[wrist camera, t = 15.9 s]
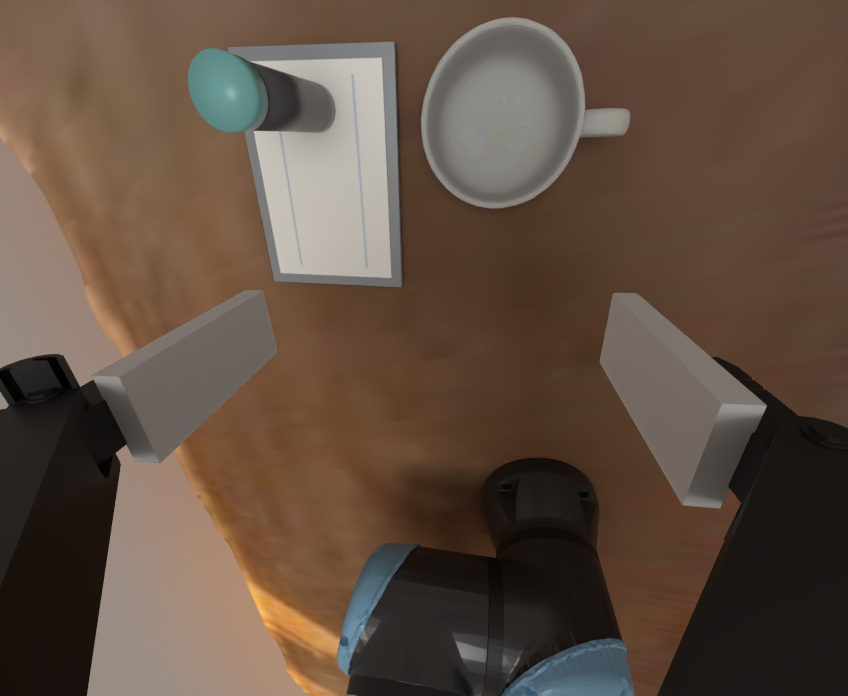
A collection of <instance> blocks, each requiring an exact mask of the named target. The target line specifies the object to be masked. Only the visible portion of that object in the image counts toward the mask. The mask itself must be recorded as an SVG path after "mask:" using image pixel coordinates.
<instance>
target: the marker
mask: <svg viewBox="0 0 848 696" xmlns="http://www.w3.org/2000/svg"><path fill="white" fill-rule="evenodd" d="M188 86H189V92H190V95H191V98H192V101H193V103H194V105H195V107H196V109H197V111H198V112H199V114H200V115H201V116H202V117H203V118H204V120H205V121H206V122H208V123H209V124H210V125H211V126H213V127H214V128H216V129H218V130H221V131H225V132H251V131H279V132H314V133H319V132H324V131H326V130H327V129H329V128H330V126H331V125H332V124H333V121H334V119H335V112H336V110H335V103H334V100H333V97H332V95H331V94H330V92H329V91H328V90H327V89H326V88H325V87H324V86H322V85H321V84H318V83H315V82H312V81H309V80H306V79H303V78H300V77H297V76H294V75H290V74H287V73H284V72H281V71H278V70H275V69H272V68H269V67H265V66H262V65H259V64H256V63H253V62H250V61H247V60H246V59H244V58H242V57H240V56H238V55H235V54H232V53H229V52H226V51H223V50H219V49H212V48H211V49H206V50H203V51H201V52H199V53H198V54H197V55H196V56H195V57H194V59H193V60H192V62H191V65H190V67H189V72H188Z"/></svg>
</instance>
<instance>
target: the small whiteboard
mask: <svg viewBox="0 0 848 696" xmlns="http://www.w3.org/2000/svg"><path fill="white" fill-rule="evenodd" d="M228 52H229V53H232V54H235V55H238V56H240V57H242V58H244V59H246V60H247V61H250V62H253V63H256V64H259V65H262V66H265V67H269V68H272V69H275V70H278V71H281V72H284V73H287V74H290V75H294V76H297V77H300V78H303V79H306V80H309V81H312V82H315V83H318V84H321V85H322V86H324V87H325V88H326V89H327V90H328V91H329V92H330V94H331V95H332V97H333V100H334V103H335V110H336V112H335V119H334V121H333V124H332V125H331V126H330V128H329V129H327V130H326V131H324V132H319V133H314V132H279V131H251V132H245V136H246V141H247V146H248V151H249V156H250V161H251V166H252V171H253V176H254V181H255V186H256V191H257V196H258V201H259V206H260V211H261V216H262V221H263V226H264V231H265V236H266V241H267V246H268V251H269V256H270V261H271V266H272V271H273V276H274V281H282V282H303V283H324V284H345V285H366V286H387V287H402V286H403V263H402V227H401V192H400V156H399V120H398V84H397V48H396V43H395V42H371V43H342V44H312V45H282V46H252V47H228Z"/></svg>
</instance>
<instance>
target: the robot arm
mask: <svg viewBox="0 0 848 696" xmlns="http://www.w3.org/2000/svg"><path fill="white" fill-rule="evenodd" d="M277 352H278V351H277V347H276V343H275V338H274V334H273V330H272V326H271V322H270V318H269V314H268V309H267V305H266V301H265V297H264V293H263V290H245V291H243V292H241V293H239V294H238V295H236V296H234V297H232V298H230V299H229V300H227V301H225V302H223V303H221V304H220V305H218V306H216V307H214V308H212V309H211V310H209V311H207V312H205V313H203V314H202V315H200V316H198V317H196V318H194V319H192V320H191V321H189V322H187V323H185V324H183V325H182V326H180V327H178V328H176V329H174V330H173V331H171V332H169V333H167V334H165V335H164V336H162V337H160V338H158V339H156V340H155V341H153V342H151V343H149V344H147V345H146V346H144V347H142V348H140V349H138V350H137V351H135V352H133V353H131V354H129V355H128V356H126V357H124V358H122V359H120V360H119V361H117V362H115V363H113V364H111V365H110V366H108V367H106V368H104V369H102V370H101V371H99V372H97V373H95V374H94V375H92V378H93V380H92V381H90V382H88V383H87V384H85V385H83V386H81V387H80V386H79V384H78V382H77V380H76V378H75V376H74V375H73V373H72V371H71V369H70V367H69V366H68V364H67V362H66V360H65V358H64V356H62V355H59V354H48V355H42V356H36V357H32V358H27V359H24V360H20V361H17V362H15V363H12V364H9V365H7V366H4V367H2V368H0V392H1V393H2V395H3V396H4V398H5V400H6V401H7V403H8V404H9V406H8V407H7V409H1V410H0V696H87V690H88V683H89V677H90V669H91V663H92V656H93V649H94V643H95V636H96V629H97V622H98V616H99V609H100V601H101V595H102V588H103V581H104V574H105V568H106V561H107V554H108V547H109V541H110V534H111V526H112V521H113V514H114V507H115V500H116V493H117V486H118V480H119V473H120V466H121V464H120V461H119V459H118V457H117V455H116V452H117V451H119V450H120V449H121V448H122V447H124V446H125V445H126V444H127V446H128V448H129V450H130V452H131V454H132V456H133V458H134V460H135V462H148V463H161V462H162V461H163V460H164V459H165V458H166V457H167V456H168V455H169V454H170V453H172V452H173V451H174V450H175V449H176V448H177V447H178V446H179V445H180V444H181V443H182V442H183V441H184V440H185V439H186V438H187V437H188V436H190V435H191V434H192V433H193V432H194V431H195V430H196V429H197V428H198V427H199V426H200V425H201V424H202V423H203V422H204V421H205V420H206V419H207V418H209V417H210V416H211V415H212V414H213V413H214V412H215V411H216V410H217V409H218V408H219V407H220V406H221V405H222V404H223V403H224V402H225V401H227V400H228V399H229V398H230V397H231V396H232V395H233V394H234V393H235V392H236V391H237V390H238V389H239V388H240V387H241V386H242V385H243V384H245V383H246V382H247V381H248V380H249V379H250V378H251V377H252V376H253V375H254V374H255V373H256V372H257V371H258V370H259V369H260V368H261V367H262V366H264V365H265V364H266V363H267V362H268V361H269V360H270V359H271V358H272V357H273V356H274V355H275V354H276V353H277ZM600 364H601V366H602V368H603V369H604V371H605V373H606V374H607V376H608V378H609V380H610V381H611V383H612V385H613V387H614V388H615V390H616V392H617V393H618V395H619V397H620V399H621V400H622V402H623V404H624V406H625V407H626V409H627V411H628V412H629V414H630V416H631V418H632V419H633V421H634V423H635V424H636V426H637V428H638V430H639V431H640V433H641V435H642V437H643V438H644V440H645V442H646V443H647V445H648V447H649V449H650V450H651V452H652V454H653V456H654V457H655V459H656V461H657V462H658V464H659V466H660V468H661V469H662V471H663V473H664V474H665V476H666V478H667V480H668V481H669V483H670V485H671V487H672V488H673V490H674V492H675V493H676V495H677V497H678V499H679V500H680V502H681V504H682V505H684V506H696V507H709V508H721V505H722V503H723V501H724V499H725V497H726V494H727V492H728V490H729V488H730V489H731V490H732V492H733V493H734V494H735V496H736V497H737V498H738V500H739V501H740V502H741V505H740V507H739V509H738V511H737V513H736V515H735V517H734V519H733V521H732V523H731V526H730V528H729V530H728V532H727V534H726V536H725V538H724V539H725V541H724V543H723V545H722V548H721V550H720V552H719V554H718V557H717V559H716V561H715V564H714V566H713V568H712V571H711V573H710V575H709V577H708V580H707V582H706V584H705V587H704V589H703V591H702V594H701V596H700V598H699V601H698V603H697V605H696V607H695V610H694V612H693V614H692V617H691V619H690V621H689V624H688V626H687V628H686V630H685V633H684V635H683V637H682V640H681V642H680V644H679V647H678V649H677V651H676V653H675V656H674V658H673V660H672V663H671V665H670V667H669V670H668V672H667V674H666V677H665V679H664V681H663V683H662V686H661V688H660V690H659V693H658V695H657V696H848V428H846V427H843V426H841V425H838V424H836V423H833V422H829V421H825V420H821V419H817V418H813V417H803V416H798V415H797V414H795V413H794V412H793V411H792V410H790V409H789V408H788V407H787V406H785V405H784V404H783V403H782V402H781V401H779V400H778V399H777V398H776V397H774V396H773V395H772V394H771V393H769V392H768V391H767V390H763V387H762V386H761V385H760V384H758V383H757V382H756V381H755V380H752V378H751V377H750V376H748V375H747V374H746V373H745V372H744V371H742V370H741V369H740V368H739V367H737V366H735V365H733V364H731V363H729V362H727V361H724V360H722V359H720V358H718V357H710V356H709V355H708V354H707V353H706V352H704V351H703V350H702V349H701V348H700V347H699V346H697V345H696V344H695V343H694V342H693V341H692V340H690V339H689V338H688V337H687V336H686V335H685V334H684V333H682V332H681V331H680V330H679V329H678V328H677V327H675V326H674V325H673V324H672V323H671V322H670V321H668V320H667V319H666V318H665V317H664V316H663V315H662V314H660V313H659V312H658V311H657V310H656V309H655V308H653V307H652V306H651V305H650V304H649V303H648V302H646V301H645V300H644V299H643V298H642V297H641V296H640V295H638V294H637V293H613V296H612V301H611V306H610V311H609V316H608V321H607V326H606V331H605V337H604V342H603V347H602V352H601V357H600ZM481 507H482V514H483V518H484V521H485V523H486V526H487V529H488V531H489V534H490V537H491V540H492V542H493V545H494V548H495V550H496V558H492V557H486V556H479V555H473V554H466V553H460V552H453V551H447V550H440V549H433V548H427V547H421V546H420V545H419V544H413V545H404V544H392V543H387V544H384V545H381V546H379V547H378V548H377V549H376V550H375V551H374V552H373V553H372V554H371V556H370V557H369V559H368V560H367V562H366V564H365V566H364V568H363V570H362V572H361V574H360V576H359V578H358V581H357V583H356V586H355V588H354V591H353V594H352V597H351V600H350V603H349V606H348V609H347V612H346V616H345V619H344V623H343V627H342V633H343V634H342V636H341V639H340V643H339V647H338V654H337V662H338V666H339V668H340V670H342V671H343V672H344V674H345V675H351V676H350V680H349V685H348V690H347V695H346V696H634V689H633V684H632V680H631V675H630V671H629V667H628V662H627V658H626V654H627V649H626V646H625V643H624V642H623V641H622V637H621V634H620V630H619V627H618V624H617V620H616V617H615V613H614V610H613V606H612V603H611V599H610V596H609V592H608V589H607V585H606V582H605V579H604V575H603V572H602V568H601V565H600V561H599V558H598V554H597V550H596V546H597V533H598V521H599V505H598V501H597V498H596V495H595V492H594V488H593V486H592V484H591V483H590V481H589V480H588V479H587V477H586V476H585V475H583V474H582V473H581V472H580V471H578V470H577V469H575V468H573V467H571V466H569V465H567V464H564V463H561V462H558V461H553V460H547V459H527V460H521V461H516V462H513V463H510V464H507V465H505V466H503V467H501V468H499V469H498V470H496V471H495V472H494V473H493V474H492V475H491V476H490V477H489V478H488V479H487V480H486V482H485V484H484V486H483V489H482V496H481Z"/></svg>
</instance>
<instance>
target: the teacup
mask: <svg viewBox="0 0 848 696" xmlns="http://www.w3.org/2000/svg"><path fill="white" fill-rule="evenodd" d="M629 123H630V112H629V110H627V109H623V108H602V109H589V110H585V92H584V84H583V78H582V74H581V71H580V69H579V66H578V63H577V60H576V58H575V56H574V55H573V53H572V51H571V50H570V48H569V47H568V45H567V44H566V43H565V42H564V41H563V39H562V38H561V37H560V36H559V35H557V34H556V33H555V32H554V31H552V30H551V29H549V28H548V27H546V26H544V25H542V24H539V23H537V22H534V21H532V20H529V19H523V18H515V17H508V18H500V19H496V20H492V21H489V22H486V23H484V24H481V25H479V26H477V27H475V28H474V29H472V30H470V31H469V32H467V33H466V34H464V35H463V36H462V37H461V38H459V39H458V40H457V41H456V42H455V43H454V44H453V45H452V46H451V47H450V48H449V49H448V50H447V52H446V53H445V54H444V56H443V57H442V58H441V60H440V61H439V63H438V65H437V66H436V68H435V70H434V72H433V74H432V77H431V79H430V81H429V84H428V87H427V91H426V94H425V97H424V102H423V107H422V115H421V133H422V141H423V147H424V151H425V154H426V157H427V161H428V162H429V164H430V167H431V168H432V170H433V172H434V173H435V175H436V177H437V178H438V179H439V181H440V182H441V183H442V184H443V185H444V186H445V188H446V189H447V190H448V191H450V192H451V193H452V194H453V195H455V196H456V197H457V198H459V199H461V200H462V201H464V202H467V203H469V204H472V205H475V206H477V207H483V208H492V209H497V208H505V207H512V206H515V205H518V204H521V203H524V202H527V201H529V200H531V199H533V198H534V197H536V196H537V195H538V194H540V193H541V192H543V191H544V190H545V189H547V188H548V187H549V186H550V185H551V184H552V183H553V182H554V181H555V180H556V179H557V178H558V177H559V175H560V174H561V173H562V172H563V171H564V169H565V168H566V166H567V164H568V163H569V161H570V159H571V157H572V155H573V153H574V151H575V148H576V146H577V143H578V140H579V138H583V137H617V136H622V135H624V134H625V133H626V131H627V129H628V127H629Z"/></svg>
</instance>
